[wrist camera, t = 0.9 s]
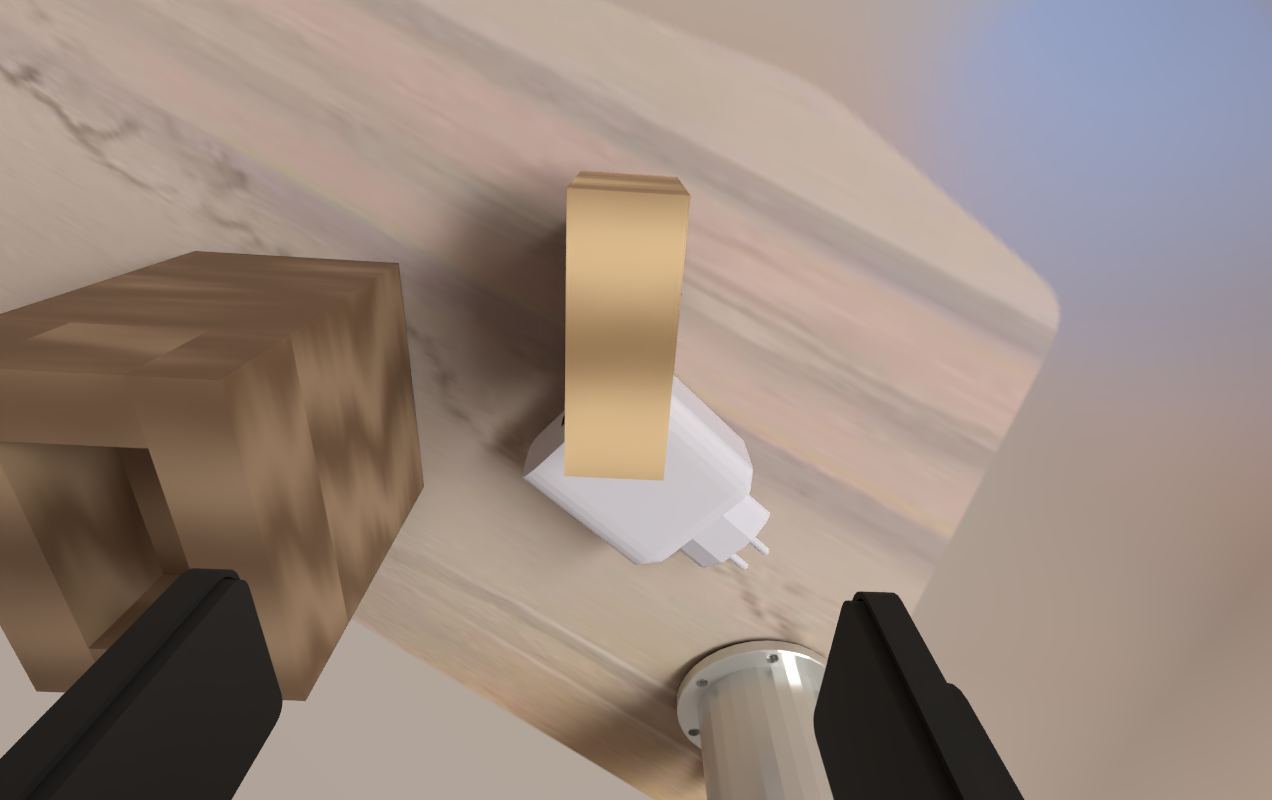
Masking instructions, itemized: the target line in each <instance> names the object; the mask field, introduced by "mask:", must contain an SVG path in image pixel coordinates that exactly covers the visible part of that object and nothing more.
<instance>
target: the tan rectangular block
mask: <svg viewBox="0 0 1272 800" xmlns="http://www.w3.org/2000/svg"><path fill="white" fill-rule="evenodd" d="M689 205H690V195H689V193H688V192H687V190H686V189H685V187H684V186H683V184H682V183H681V182H680V180H679V179H678V177H667V176H651V175H635V174H619V173H603V172H587V171H580V173H579V174H578V175H577V176H576V177H575V179H574V180H573V181H572V182H571V184H570V185H569V186H568V187H567V204H566V331H565V457H564V476H572V477H594V478H616V479H638V480H660V481H663V480H664V470H665V459H666V448H667V438H668V427H669V417H670V406H671V396H672V385H673V374H674V364H675V353H676V343H677V332H678V321H679V311H680V300H681V290H682V279H683V269H684V258H685V247H686V237H687V226H688V216H689Z"/></svg>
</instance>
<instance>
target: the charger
mask: <svg viewBox="0 0 1272 800" xmlns="http://www.w3.org/2000/svg"><path fill="white" fill-rule="evenodd" d="M564 415H565V410H564V411H563V412H562V413H561V414H560V415H559V416H558V417H557V418H556V419H555V420H553V421H552V422H551V423H550V424H549V425H548V426H547V427H546V428H545V429H544V430H543V431H542V432H541V433H540V434H539V435H538V436H537V437H536V438H535V440H534V441H533V442H532V444H531V446H530V448H529V451H528V455H527V458H526V461H525V465H524V468H523V471H522V475H521V477H522V478H524V479H525V480H526V481H527V482H529V483H530V484H531V485H533V486H534V487H535V488H537V489H538V490H539V491H540V492H542V493H543V494H544V495H546V496H547V497H548V498H549V499H551V500H552V501H553V502H555V503H556V504H557V505H559V506H560V507H561V508H562V509H564V510H565V511H566V512H568V513H569V514H570V515H572V516H573V517H574V518H575V519H577V520H578V521H579V522H581V523H582V524H583V525H584V526H586V527H587V528H588V529H590V530H591V531H592V532H594V533H595V534H596V535H597V536H599V537H600V538H601V539H603V540H604V541H605V542H607V543H608V544H609V545H610V546H612V547H613V548H614V549H616V550H617V551H618V552H619V553H621V554H622V555H623V556H625V557H626V558H627V559H629V560H630V561H631V562H632V563H634V564H636V565H641V564H651V563H660V562H662V561H664V560H665V559H667V558H668V557H669V556H671V555H672V554H673V553H674V552H676V551H677V550H678V549H679V550H681V551H682V552H683V553H684V554H686V555H687V556H688V557H689V558H690V559H692V560H693V561H694V562H695V563H697V564H698V565H699V566H701V567H704V568H705V567H709V566H712V565H716V564H720V563H723V562H724V561H725V560H727V559H728V558H729V559H730V560H731V561H732V562H733V563H735V564H736V565H737V566H738V567H739V568H741V569H742V570H746V569H747V568H748V564H747V563H746V562H745V561H744V560H743V559H741V558H740V557H739V556H738V555H737V554H735V553H736V552H738V551H739V550H740V549H742V548H743V547H744V546H746V545H747V544H749V543H750V544H751V545H753V546H754V547H755V548H756V549H757V550H758V551H760V552H761V553H762V554H763V555H767V554H768V553H769V548H768V547H766V546H765V545H764V544H763V543H762V542H761V541H760V540H758V539H757V538H756V537H755V536H756V535H757V534H758V532H759V531H760V530H761V528H762V527H763V526H764V525H765V523H766V522H767V520H768V517H769V515H770V513H769V512H768V511H767V510H766V509H764V508H763V507H762V506H761V505H760V504H759V503H758V502H757V501H756V500H754V499H753V498H752V497H751V496H750V495H749V492H750V489H751V481H752V473H753V467H752V464H751V461H750V458H749V455H748V453H747V450H746V447H745V444H744V441H743V440H742V439H741V438H740V437H739V436H738V435H737V434H736V433H735V432H734V431H733V430H731V429H730V428H729V427H728V426H727V425H726V424H725V423H724V422H723V421H722V420H721V419H720V418H719V417H718V416H717V415H716V414H714V413H713V412H712V411H711V410H710V409H709V408H708V407H707V406H706V405H705V404H704V403H703V402H702V401H701V400H700V399H699V398H697V397H696V396H695V395H694V394H693V393H692V392H691V391H690V390H689V389H688V388H687V387H686V386H685V385H684V384H683V383H682V382H680V381H679V380H678V379H677V378H676V377H675V376H674V375H673V385H672V396H671V406H670V417H669V427H668V438H667V448H666V459H665V470H664V480H663V481H660V480H638V479H616V478H594V477H572V476H564V457H565V420H564V421H563V422H562V420H563V416H564ZM561 425H562V427H561Z"/></svg>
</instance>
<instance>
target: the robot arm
mask: <svg viewBox="0 0 1272 800" xmlns="http://www.w3.org/2000/svg"><path fill="white" fill-rule="evenodd" d="M281 709H282V694H281V691H280V687H279V684H278V681H277V677H276V674H275V671H274V667H273V664H272V661H271V657H270V654H269V651H268V647H267V644H266V641H265V638H264V634H263V631H262V628H261V624H260V621H259V618H258V614H257V611H256V608H255V604H254V601H253V598H252V594H251V591H250V588H249V585H248V583H247V582H246V581H245V580H240V578H239V576H238V574H237V573H236V572H235V571H234V570H229V569H203V568H192V569H189V570H187V571H185V572H184V573H183V574H181V575H180V576H179V577H178V578H177V579H176V580H175V581H174V582H173V583H172V584H171V585H170V586H169V587H168V588H167V589H166V590H165V592H164V593H163V594H162V595H161V596H160V597H159V598H158V599H157V600H156V601H155V602H154V603H153V604H152V605H151V606H150V607H149V608H148V609H147V610H146V611H145V612H144V613H143V614H142V615H141V616H140V617H139V618H138V619H137V620H136V621H135V622H134V623H133V624H132V625H131V626H130V627H129V628H128V629H127V630H126V631H125V632H124V633H123V634H122V635H121V636H120V637H119V638H118V639H117V640H116V641H115V642H114V643H113V645H112V646H111V647H110V648H109V649H108V650H107V651H106V652H105V653H104V654H103V655H102V656H101V657H100V658H99V659H98V660H97V661H96V662H95V663H94V664H93V665H92V666H91V667H90V668H89V669H88V670H87V671H86V672H85V673H84V674H83V675H82V676H81V677H80V678H79V679H78V680H77V681H76V682H75V683H74V684H73V685H72V686H71V687H70V688H69V689H68V690H67V691H66V692H65V693H64V694H63V695H62V696H61V698H60V699H59V700H58V701H57V702H56V703H55V704H54V705H53V706H52V707H51V708H50V709H49V710H48V711H47V712H46V713H45V714H44V715H43V716H42V717H41V718H40V719H39V720H38V721H37V722H36V723H35V724H34V725H33V726H32V727H31V728H30V729H29V730H28V731H27V732H26V733H25V734H24V735H23V736H22V737H21V738H20V739H19V740H18V741H17V742H16V743H15V744H14V745H13V746H12V748H11V749H10V750H9V751H8V752H7V753H6V754H5V755H4V756H3V757H2V758H1V759H0V800H231V799H232V798H233V796H234V794H235V793H236V791H237V789H238V787H239V786H240V784H241V782H242V781H243V779H244V777H245V776H246V774H247V772H248V770H249V769H250V767H251V765H252V764H253V762H254V760H255V758H256V757H257V755H258V753H259V752H260V750H261V748H262V747H263V745H264V743H265V741H266V740H267V738H268V736H269V735H270V733H271V731H272V729H273V728H274V726H275V724H276V722H277V720H278V718H279V716H280V713H281ZM677 716H678V722H679V725H680V727H681V729H682V731H683V733H684V734H685V735H686V736H687V738H688V739H689V740H690V741H691V742H692V743H693V744H695V745H696V746H697V747H698V748H700V749H701V750H702V759H703V768H704V777H705V786H706V795H707V800H1024V798H1023V797H1022V795H1021V793H1020V791H1019V790H1018V788H1017V786H1016V784H1015V783H1014V781H1013V779H1012V777H1011V776H1010V774H1009V772H1008V770H1007V769H1006V767H1005V765H1004V763H1003V762H1002V760H1001V758H1000V756H999V755H998V753H997V751H996V749H995V748H994V746H993V744H992V742H991V741H990V739H989V737H988V735H987V734H986V732H985V730H984V728H983V726H982V725H981V723H980V721H979V720H978V718H977V716H976V714H975V713H974V711H973V709H972V707H971V706H970V704H969V702H968V700H967V699H966V698H965V696H964V695H963V693H962V692H961V691H960V690H959V689H958V688H957V687H956V686H955V685H953V684H950V683H947V682H946V680H945V679H944V677H943V675H942V673H941V671H940V669H939V668H938V666H937V664H936V662H935V661H934V659H933V657H932V655H931V653H930V651H929V650H928V648H927V646H926V644H925V642H924V641H923V639H922V637H921V635H920V633H919V632H918V630H917V628H916V626H915V624H914V622H913V621H912V619H911V617H910V615H909V613H908V612H907V610H906V608H905V606H904V604H903V602H902V601H901V599H900V598H899V596H898V595H896V594H895V593H886V592H857V593H856V594H855V595H854V597H853V600H852V601H845V602H844V603H843V605H842V608H841V612H840V616H839V620H838V623H837V627H836V631H835V635H834V638H833V642H832V646H831V650H830V653H829V657H828V661H827V660H826V659H825V658H823V657H822V656H820V655H819V654H817V653H816V652H814V651H812V650H810V649H807V648H805V647H802V646H800V645H796V644H792V643H787V642H782V641H768V640H766V641H750V642H746V643H741V644H736V645H732V646H730V647H727V648H724V649H721V650H719V651H717V652H715V653H713V654H711V655H709V656H707V657H706V658H704V659H703V660H702V661H700V662H699V663H698V664H696V665H695V666H694V667H693V668H692V669H691V670H690V671H689V672H688V674H687V675H686V676H685V677H684V679H683V681H682V683H681V684H680V686H679V690H678V693H677Z"/></svg>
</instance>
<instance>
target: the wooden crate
mask: <svg viewBox="0 0 1272 800" xmlns="http://www.w3.org/2000/svg"><path fill="white" fill-rule="evenodd" d="M423 487H424V485H423V476H422V467H421V458H420V449H419V440H418V431H417V422H416V413H415V405H414V396H413V387H412V378H411V369H410V360H409V351H408V342H407V334H406V325H405V316H404V307H403V298H402V289H401V280H400V271H399V263H384V262H367V261H350V260H333V259H316V258H300V257H283V256H266V255H249V254H232V253H215V252H199V251H194V252H191V253H188V254H185V255H182V256H179V257H176V258H173V259H170V260H167V261H164V262H160V263H157V264H154V265H151V266H148V267H145V268H142V269H139V270H136V271H133V272H129V273H126V274H123V275H120V276H117V277H114V278H111V279H108V280H105V281H102V282H99V283H95V284H92V285H89V286H86V287H83V288H80V289H77V290H74V291H71V292H68V293H64V294H61V295H58V296H55V297H52V298H49V299H46V300H43V301H40V302H37V303H33V304H30V305H27V306H24V307H21V308H18V309H15V310H12V311H9V312H6V313H3V314H0V626H1V628H2V630H3V631H4V633H5V635H6V637H7V638H8V640H9V642H10V644H11V646H12V648H13V649H14V651H15V653H16V655H17V656H18V658H19V660H20V662H21V664H22V666H23V668H24V669H25V671H26V673H27V675H28V677H29V678H30V680H31V682H32V684H33V686H34V687H35V689H36V691H42V692H66V691H67V690H68V689H69V688H70V687H71V686H72V685H73V684H74V683H75V682H76V681H77V680H78V679H79V678H80V677H81V676H82V675H83V674H84V673H85V672H86V671H87V670H88V669H89V668H90V667H91V666H92V665H93V664H94V663H95V662H96V661H97V660H98V659H99V658H100V657H101V656H102V655H103V654H104V653H105V652H106V651H107V650H108V649H109V648H110V647H111V646H112V645H113V643H114V642H115V641H116V640H117V639H118V638H119V637H120V636H121V635H122V634H123V633H124V632H125V631H126V630H127V629H128V628H129V627H130V626H131V625H132V624H133V623H134V622H135V621H136V620H137V619H138V618H139V617H140V616H141V615H142V614H143V613H144V612H145V611H146V610H147V609H148V608H149V607H150V606H151V605H152V604H153V603H154V602H155V601H156V600H157V599H158V598H159V597H160V596H161V595H162V594H163V593H164V592H165V590H166V589H167V588H168V587H169V586H170V585H171V584H172V583H173V582H174V581H175V580H176V579H177V578H178V577H179V576H180V575H181V574H183V573H184V572H185V571H187V570H189V569H192V568H203V569H229V570H234V571H235V572H236V573H237V574H238V576H239V578H240V580H245V581H246V582H247V583H248V585H249V588H250V591H251V594H252V598H253V601H254V604H255V608H256V611H257V614H258V618H259V621H260V624H261V628H262V631H263V634H264V638H265V641H266V644H267V647H268V651H269V654H270V657H271V661H272V664H273V667H274V671H275V674H276V677H277V681H278V684H279V687H280V691H281V694H282V700H298V701H305V700H306V699H307V697H308V696H309V694H310V692H311V690H312V688H313V686H314V685H315V683H316V681H317V679H318V677H319V675H320V674H321V672H322V670H323V668H324V667H325V665H326V663H327V661H328V659H329V657H330V656H331V654H332V652H333V650H334V649H335V647H336V645H337V643H338V641H339V639H340V638H341V636H342V634H343V632H344V630H345V629H346V627H347V625H348V623H349V621H350V620H351V618H352V616H353V614H354V612H355V610H356V609H357V607H358V605H359V603H360V601H361V600H362V598H363V596H364V594H365V592H366V591H367V589H368V587H369V585H370V583H371V582H372V580H373V578H374V576H375V574H376V572H377V571H378V569H379V567H380V565H381V563H382V562H383V560H384V558H385V556H386V554H387V553H388V551H389V549H390V547H391V545H392V543H393V542H394V540H395V538H396V536H397V534H398V533H399V531H400V529H401V527H402V525H403V524H404V522H405V520H406V518H407V516H408V514H409V513H410V511H411V509H412V507H413V505H414V504H415V502H416V500H417V498H418V496H419V495H420V493H421V491H422V489H423Z"/></svg>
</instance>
